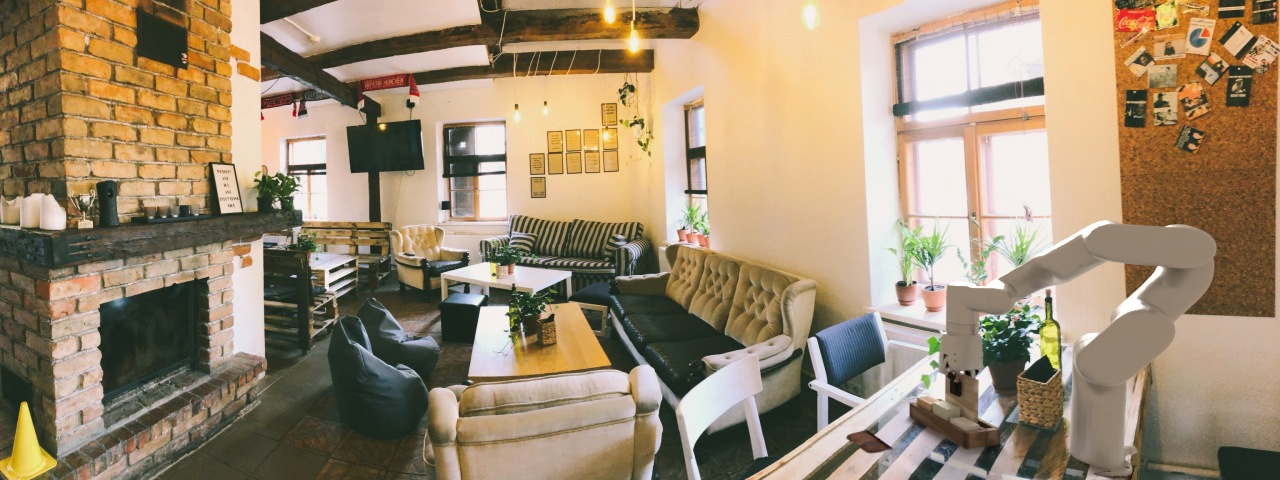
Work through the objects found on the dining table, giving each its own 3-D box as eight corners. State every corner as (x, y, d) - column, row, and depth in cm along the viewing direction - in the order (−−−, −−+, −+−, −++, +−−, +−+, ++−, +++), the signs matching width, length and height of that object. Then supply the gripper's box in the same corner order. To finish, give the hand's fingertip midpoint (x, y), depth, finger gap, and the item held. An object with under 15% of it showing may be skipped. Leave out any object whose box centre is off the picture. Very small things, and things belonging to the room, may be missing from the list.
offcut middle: (945, 425, 140) (945, 400, 139) (960, 433, 135) (960, 408, 134) (932, 426, 139) (933, 402, 138) (947, 435, 134) (947, 409, 133)
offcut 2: (963, 434, 134) (963, 416, 133) (978, 443, 129) (979, 424, 128) (949, 436, 133) (950, 418, 133) (965, 445, 128) (965, 426, 128)
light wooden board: (951, 420, 142) (951, 368, 141) (977, 434, 133) (978, 380, 132) (944, 421, 142) (945, 369, 141) (971, 435, 133) (972, 380, 132)
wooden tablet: (919, 417, 146) (949, 427, 137) (919, 424, 146) (949, 435, 137) (843, 433, 138) (869, 446, 129) (843, 442, 138) (870, 454, 129)
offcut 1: (929, 415, 145) (929, 395, 145) (942, 423, 141) (942, 402, 140) (917, 417, 145) (917, 397, 144) (930, 425, 140) (930, 404, 139)
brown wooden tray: (940, 416, 148) (940, 398, 147) (1000, 449, 128) (1000, 429, 128) (909, 420, 146) (909, 402, 146) (965, 454, 126) (966, 434, 126)
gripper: (976, 322, 140) (975, 386, 142) (925, 327, 137) (924, 392, 139) (1000, 329, 133) (999, 396, 135) (946, 334, 130) (945, 403, 132)
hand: (961, 393), depth 137 cm, fingers open, 3 cm apart
